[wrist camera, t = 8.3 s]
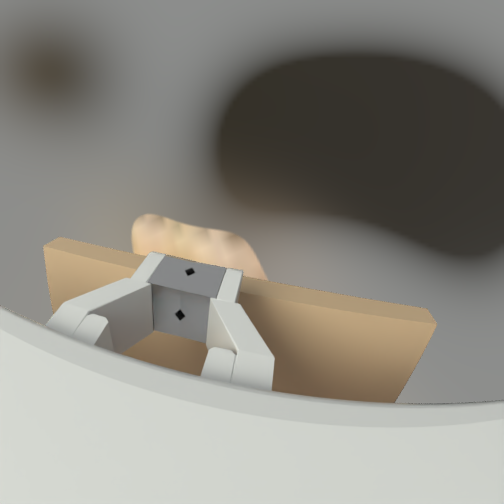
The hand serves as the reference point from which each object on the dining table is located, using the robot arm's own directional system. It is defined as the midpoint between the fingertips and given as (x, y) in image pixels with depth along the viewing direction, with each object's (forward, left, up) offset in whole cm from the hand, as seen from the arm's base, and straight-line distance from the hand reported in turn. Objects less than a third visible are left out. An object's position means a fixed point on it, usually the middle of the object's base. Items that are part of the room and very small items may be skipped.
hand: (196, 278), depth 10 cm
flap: (-1, +9, -8) cm, 12 cm away
